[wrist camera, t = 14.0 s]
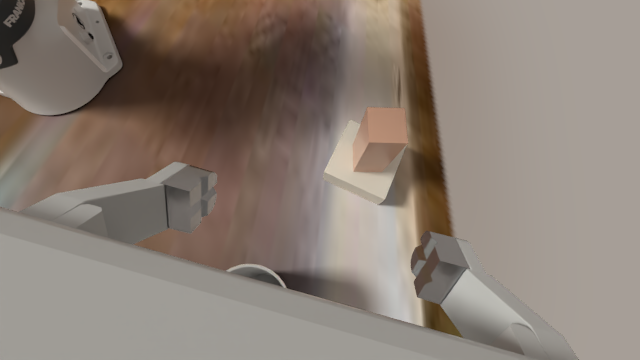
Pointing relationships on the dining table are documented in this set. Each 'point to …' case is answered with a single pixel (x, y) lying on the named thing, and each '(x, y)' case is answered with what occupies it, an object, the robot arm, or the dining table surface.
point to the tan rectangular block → (379, 139)
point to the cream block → (358, 183)
